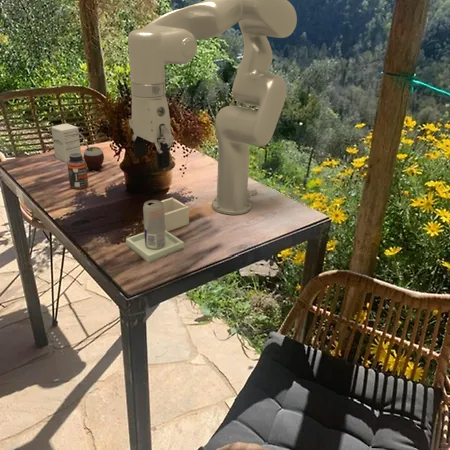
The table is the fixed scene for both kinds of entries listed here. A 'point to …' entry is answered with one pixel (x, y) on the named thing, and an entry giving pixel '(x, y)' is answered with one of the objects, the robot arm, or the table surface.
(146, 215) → the energy drink
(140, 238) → the tray
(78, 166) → the supplement bottle
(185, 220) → the can holder
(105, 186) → the table surface
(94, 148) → the mate gourd
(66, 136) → the supplement box
